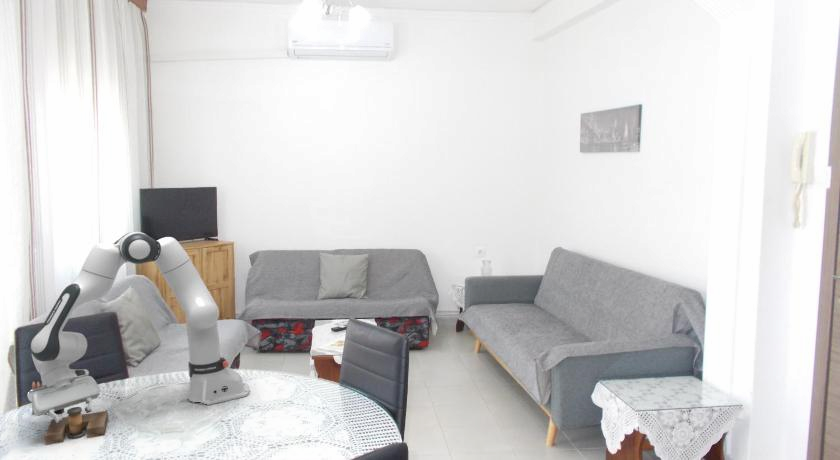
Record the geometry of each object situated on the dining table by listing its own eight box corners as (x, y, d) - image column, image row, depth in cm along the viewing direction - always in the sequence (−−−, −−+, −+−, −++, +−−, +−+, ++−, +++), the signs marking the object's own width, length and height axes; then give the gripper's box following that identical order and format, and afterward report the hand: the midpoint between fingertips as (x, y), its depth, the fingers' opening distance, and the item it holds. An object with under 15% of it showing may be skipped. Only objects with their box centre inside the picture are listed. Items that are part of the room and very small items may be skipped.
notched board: (108, 418, 219) (107, 410, 219) (104, 435, 206) (103, 426, 206) (52, 427, 213) (51, 419, 213) (45, 444, 200) (44, 436, 200)
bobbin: (86, 431, 210) (84, 405, 209) (84, 437, 205) (82, 411, 204) (69, 433, 208) (66, 408, 207) (66, 440, 203) (64, 413, 202)
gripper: (27, 386, 201) (42, 422, 196) (92, 368, 217) (108, 401, 212) (22, 396, 204) (38, 432, 199) (87, 378, 220) (103, 411, 215)
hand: (74, 416), depth 206 cm, fingers open, 8 cm apart
